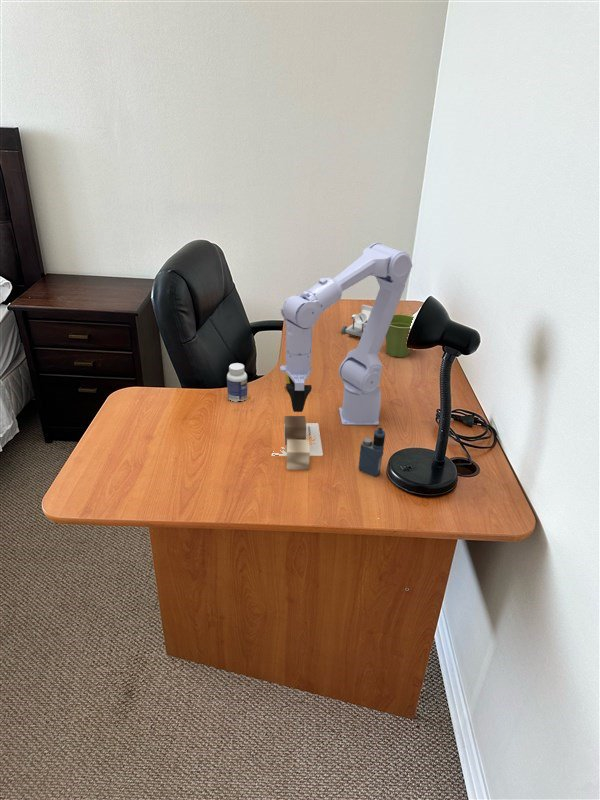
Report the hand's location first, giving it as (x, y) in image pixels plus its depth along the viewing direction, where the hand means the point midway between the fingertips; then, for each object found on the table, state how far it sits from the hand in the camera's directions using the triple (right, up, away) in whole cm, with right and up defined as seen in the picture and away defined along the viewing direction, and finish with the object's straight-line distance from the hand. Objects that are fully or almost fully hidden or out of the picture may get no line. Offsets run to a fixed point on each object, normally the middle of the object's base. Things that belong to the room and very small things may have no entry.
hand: (297, 402), depth 131 cm
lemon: (-1, +3, +27) cm, 27 cm away
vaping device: (+16, -16, -5) cm, 23 cm away
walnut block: (-1, -9, +5) cm, 10 cm away
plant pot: (+32, +16, +50) cm, 61 cm away
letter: (0, -9, +5) cm, 10 cm away
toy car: (+23, +24, +64) cm, 72 cm away
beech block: (0, -14, -3) cm, 14 cm away
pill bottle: (-16, +1, +22) cm, 27 cm away
